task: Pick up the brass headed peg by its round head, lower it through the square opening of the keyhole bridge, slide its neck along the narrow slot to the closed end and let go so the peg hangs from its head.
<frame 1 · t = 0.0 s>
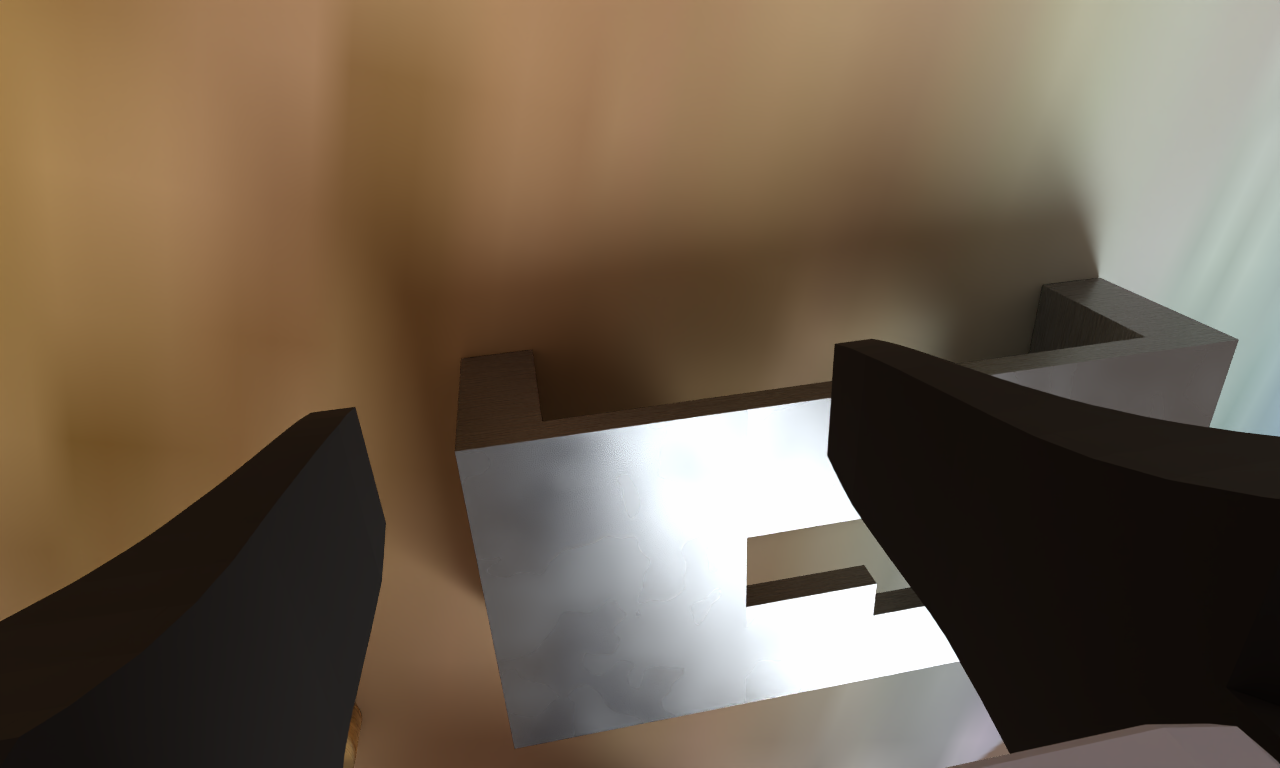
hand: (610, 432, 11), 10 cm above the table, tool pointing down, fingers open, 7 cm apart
keyhole bridge: (793, 456, 25), on the table
peg: (319, 720, 26), on the table
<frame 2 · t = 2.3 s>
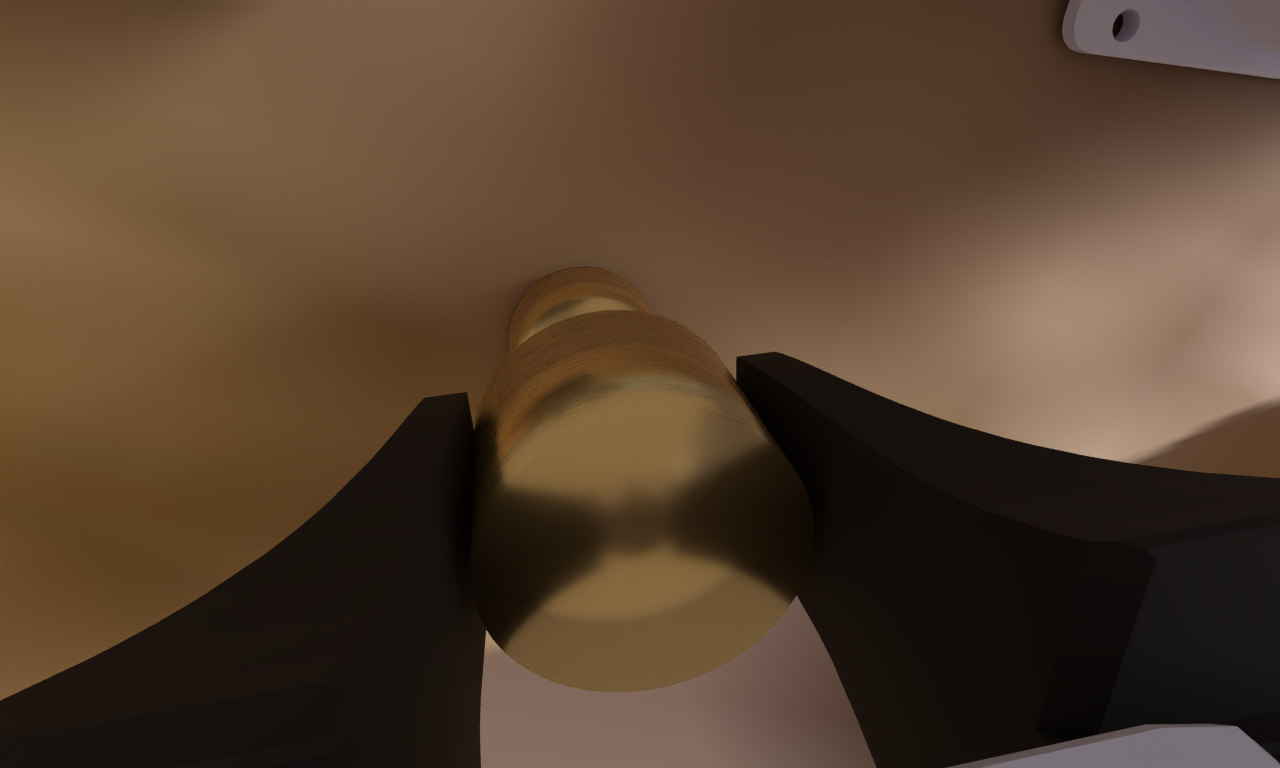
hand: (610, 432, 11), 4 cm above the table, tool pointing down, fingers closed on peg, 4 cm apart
peg: (582, 336, 15), on the table, touching gripper
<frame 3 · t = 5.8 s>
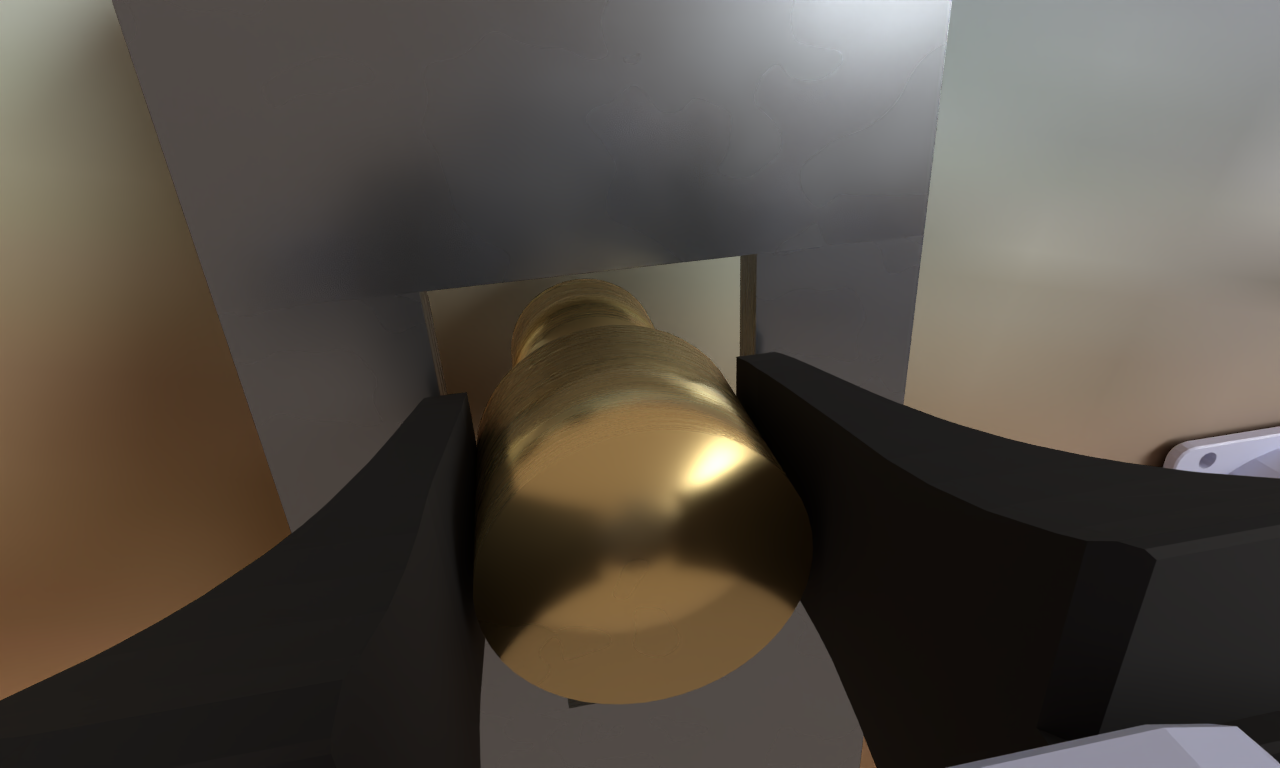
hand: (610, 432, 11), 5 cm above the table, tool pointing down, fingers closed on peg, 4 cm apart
keyhole bridge: (585, 426, 17), on the table
peg: (583, 347, 15), point 2 cm above the table, touching gripper
when the fingers open (5 cm above the table, at t = 7.6 s): peg stays where it is, resting on keyhole bridge.
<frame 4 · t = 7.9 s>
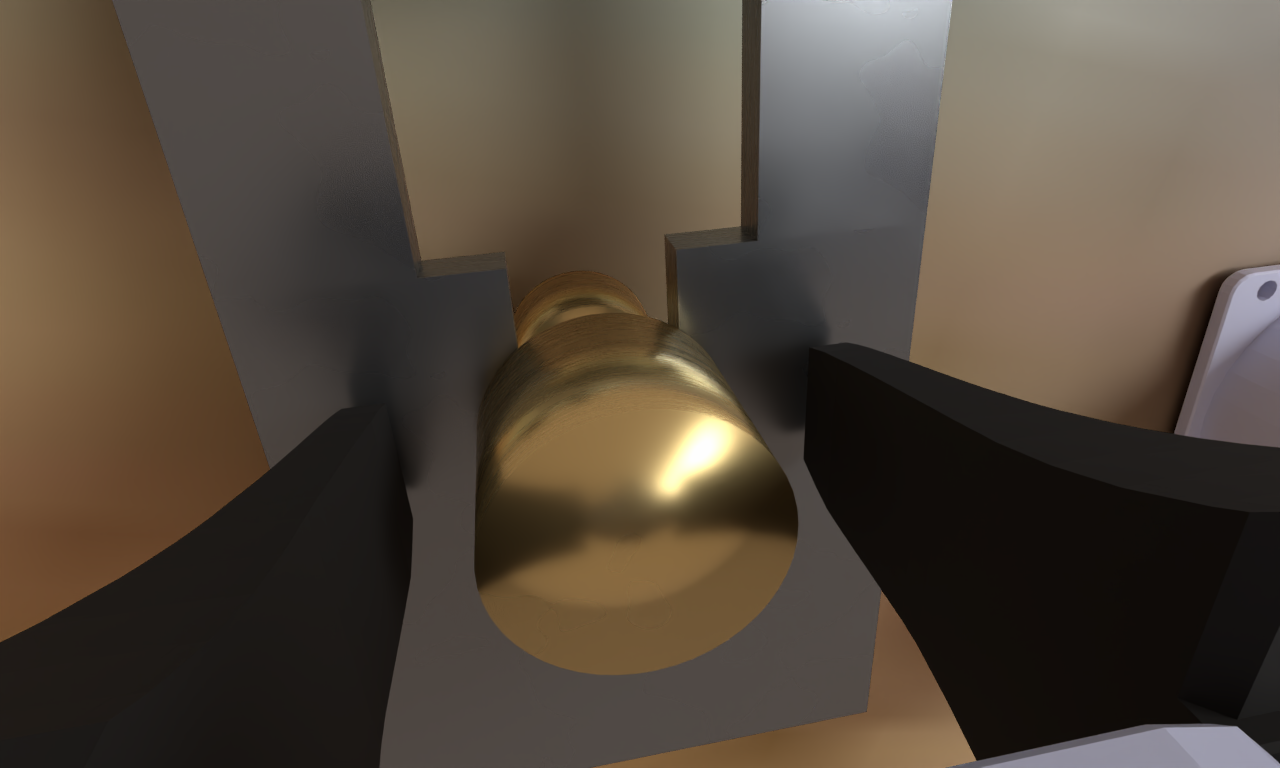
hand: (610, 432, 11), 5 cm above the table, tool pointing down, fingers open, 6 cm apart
keyhole bridge: (564, 213, 15), on the table
peg: (580, 337, 15), point 1 cm above the table, touching keyhole bridge
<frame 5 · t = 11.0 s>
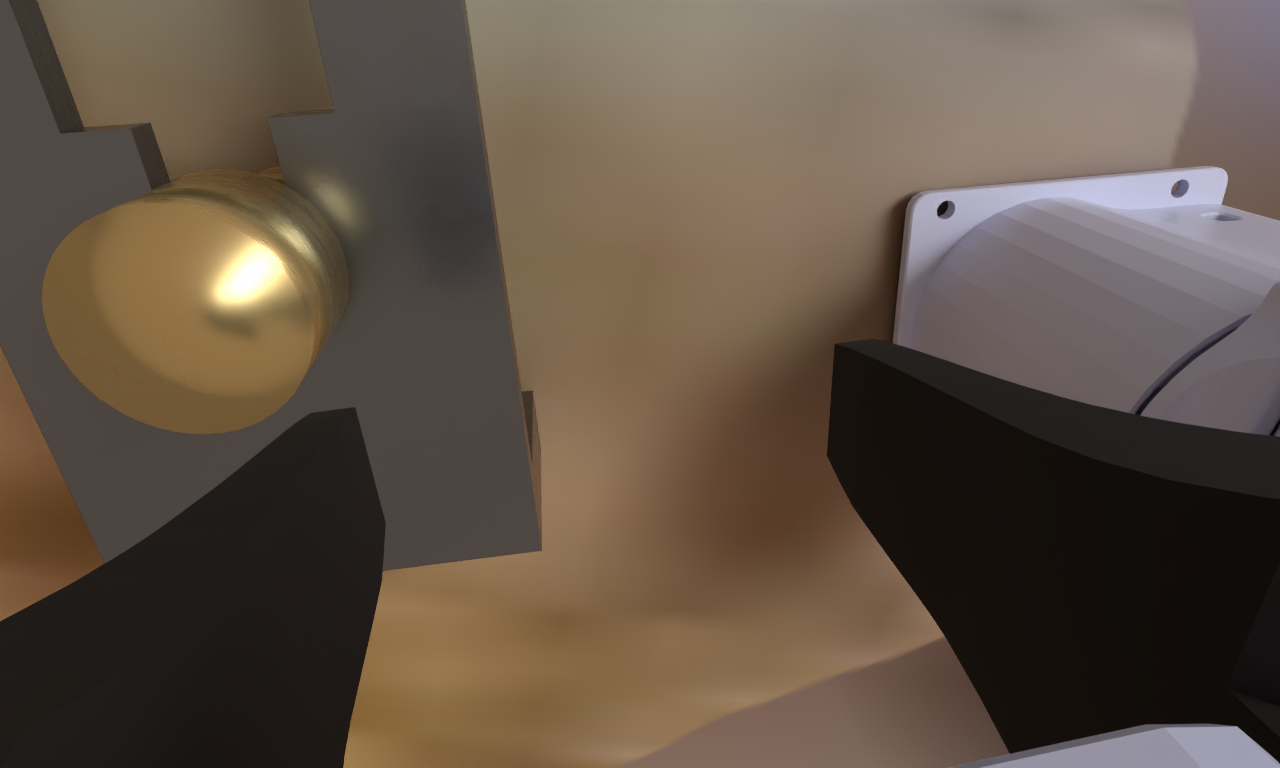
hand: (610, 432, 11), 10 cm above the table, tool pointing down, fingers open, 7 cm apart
keyhole bridge: (288, 122, 18), on the table
peg: (297, 224, 18), point 1 cm above the table, touching keyhole bridge
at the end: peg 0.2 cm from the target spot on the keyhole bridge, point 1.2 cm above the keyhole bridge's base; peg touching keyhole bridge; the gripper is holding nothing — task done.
